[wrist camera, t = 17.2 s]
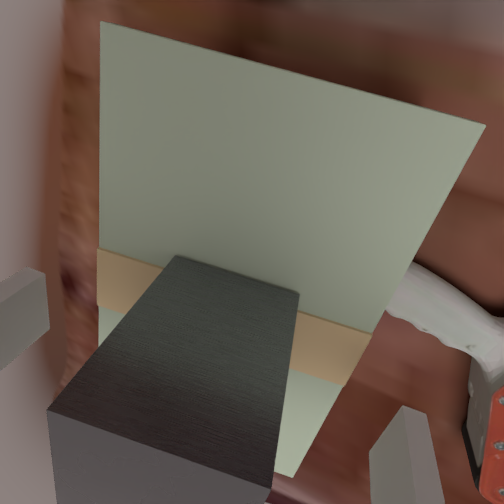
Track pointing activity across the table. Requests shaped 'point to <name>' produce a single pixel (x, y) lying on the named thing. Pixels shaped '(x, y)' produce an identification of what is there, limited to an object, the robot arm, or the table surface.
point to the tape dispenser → (481, 371)
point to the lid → (267, 196)
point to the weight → (179, 395)
